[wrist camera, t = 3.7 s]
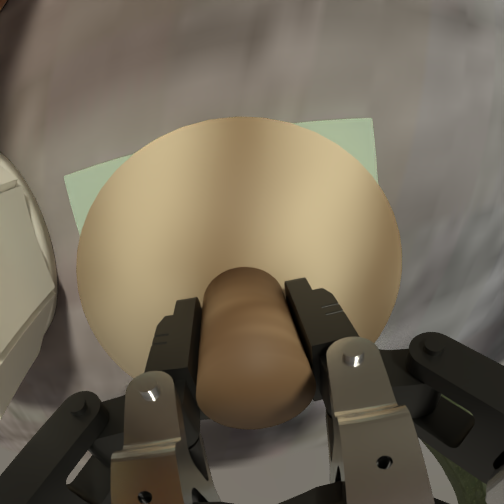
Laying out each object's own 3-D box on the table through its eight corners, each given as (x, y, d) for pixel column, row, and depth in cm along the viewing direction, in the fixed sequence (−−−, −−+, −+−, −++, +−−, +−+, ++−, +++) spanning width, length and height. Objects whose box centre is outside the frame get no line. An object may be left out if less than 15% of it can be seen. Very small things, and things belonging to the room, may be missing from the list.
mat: (365, 118, 10) (372, 117, 10) (367, 353, 15) (371, 360, 14) (70, 174, 10) (63, 176, 10) (154, 391, 15) (153, 399, 14)
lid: (381, 105, 10) (490, 100, 4) (378, 363, 15) (422, 440, 9) (51, 167, 9) (-51, 204, 4) (148, 404, 14) (134, 491, 9)
